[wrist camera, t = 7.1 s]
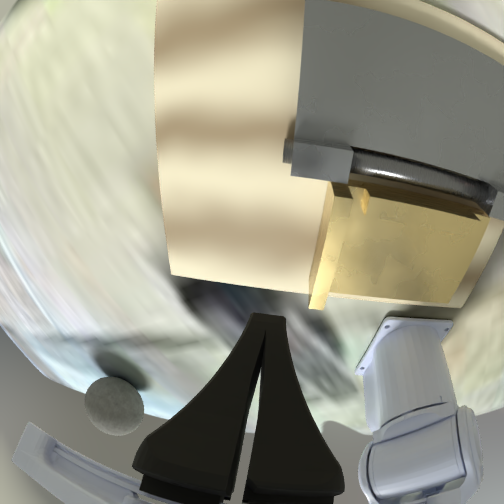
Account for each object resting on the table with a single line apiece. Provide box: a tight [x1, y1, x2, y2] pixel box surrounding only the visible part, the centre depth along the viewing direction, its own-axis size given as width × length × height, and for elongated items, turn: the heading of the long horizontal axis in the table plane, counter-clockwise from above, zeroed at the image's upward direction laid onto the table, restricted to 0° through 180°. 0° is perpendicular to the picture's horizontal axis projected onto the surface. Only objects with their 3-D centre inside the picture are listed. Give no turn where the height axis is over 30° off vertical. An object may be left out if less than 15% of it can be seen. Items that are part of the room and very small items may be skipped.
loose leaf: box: [309, 179, 491, 310], centre depth 17 cm, size 8×12×3 cm
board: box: [154, 0, 504, 308], centre depth 15 cm, size 22×26×1 cm
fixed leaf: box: [282, 0, 504, 221], centre depth 12 cm, size 10×17×2 cm, turn 87°
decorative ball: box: [85, 377, 144, 436], centre depth 36 cm, size 10×10×10 cm
